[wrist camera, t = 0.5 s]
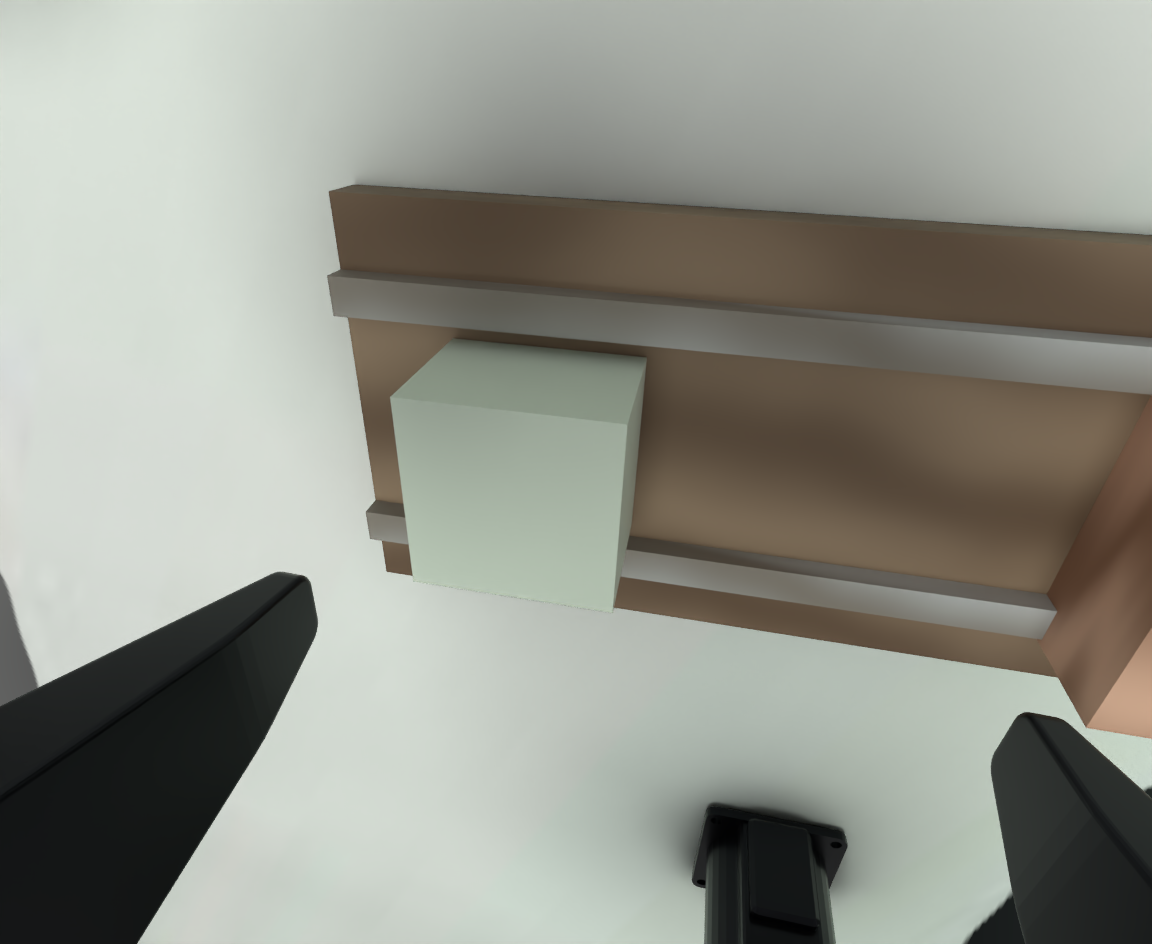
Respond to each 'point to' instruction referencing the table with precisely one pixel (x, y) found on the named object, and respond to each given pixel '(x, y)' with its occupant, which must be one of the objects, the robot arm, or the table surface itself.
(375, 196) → the track
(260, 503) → the table surface
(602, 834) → the table surface
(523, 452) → the block
